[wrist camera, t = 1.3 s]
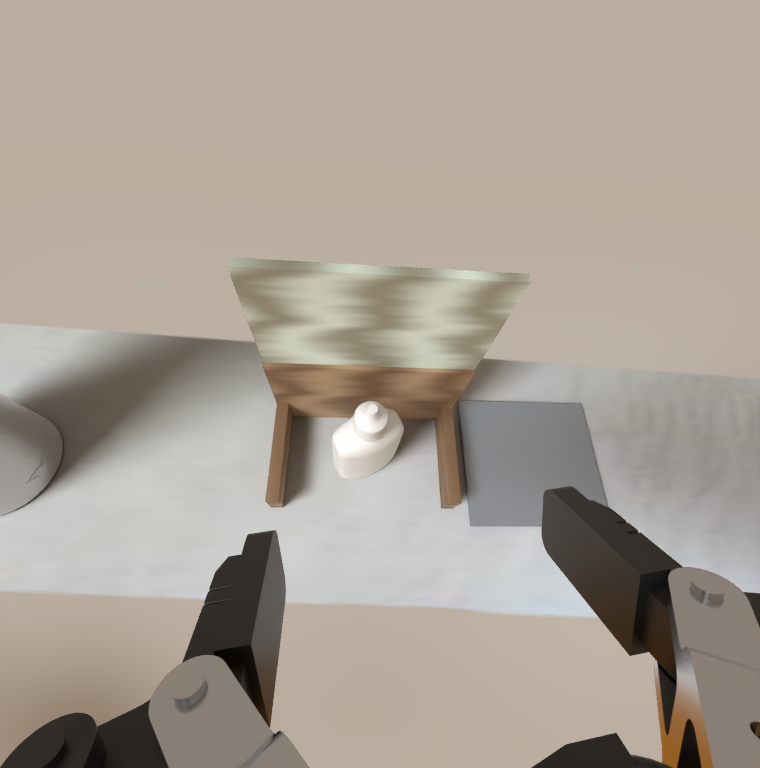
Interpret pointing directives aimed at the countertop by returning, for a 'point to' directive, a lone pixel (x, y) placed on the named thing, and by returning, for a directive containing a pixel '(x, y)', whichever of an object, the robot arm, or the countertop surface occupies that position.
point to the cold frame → (370, 343)
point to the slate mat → (523, 458)
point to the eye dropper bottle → (366, 440)
